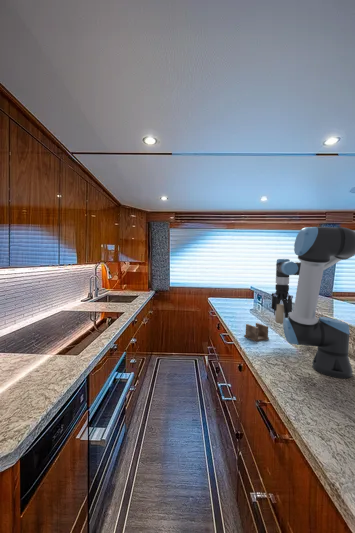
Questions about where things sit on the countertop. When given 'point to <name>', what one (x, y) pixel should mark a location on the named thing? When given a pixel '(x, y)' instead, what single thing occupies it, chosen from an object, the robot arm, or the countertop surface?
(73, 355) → the countertop surface
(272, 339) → the countertop surface
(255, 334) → the holder
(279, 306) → the beige rectangular block
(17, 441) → the countertop surface
